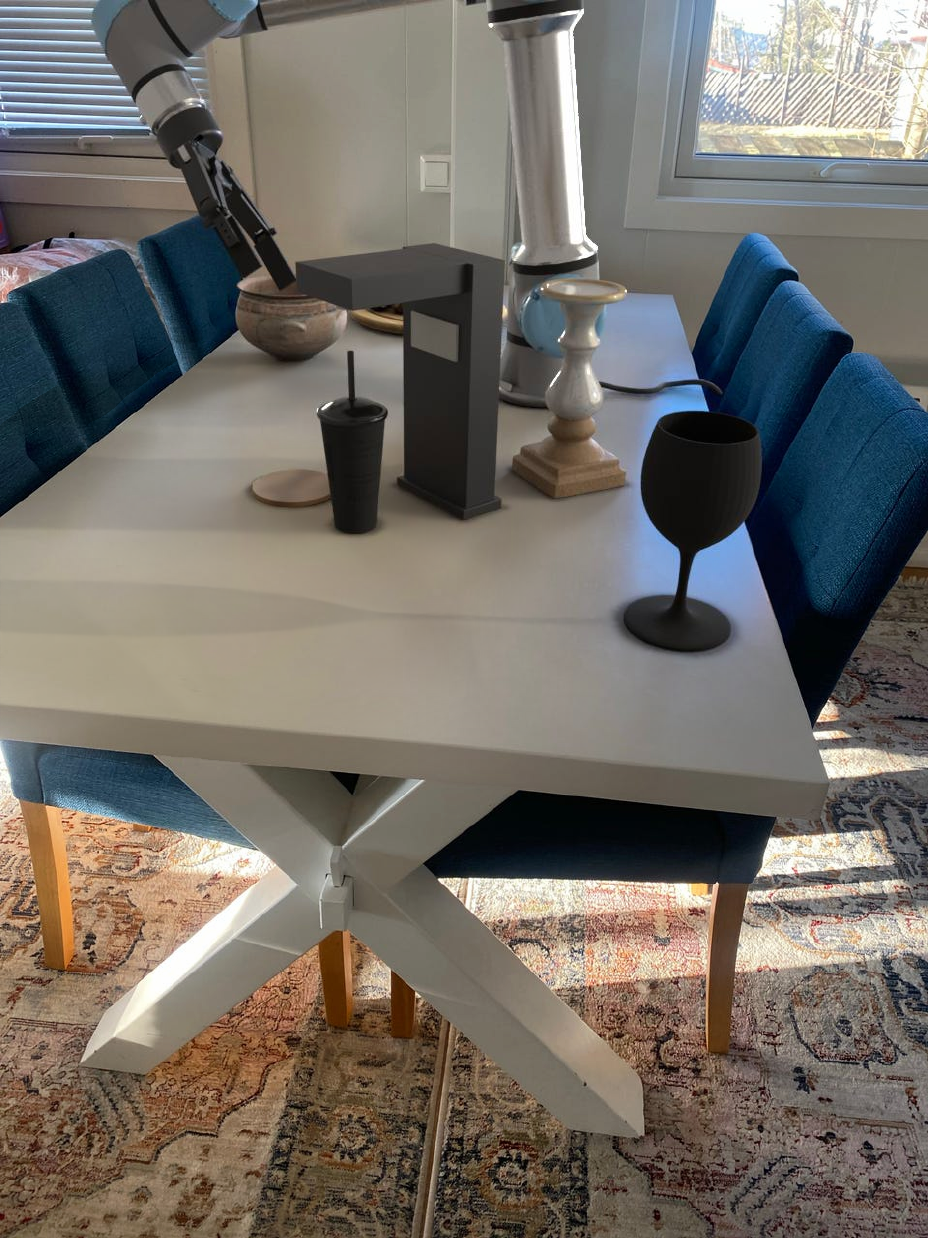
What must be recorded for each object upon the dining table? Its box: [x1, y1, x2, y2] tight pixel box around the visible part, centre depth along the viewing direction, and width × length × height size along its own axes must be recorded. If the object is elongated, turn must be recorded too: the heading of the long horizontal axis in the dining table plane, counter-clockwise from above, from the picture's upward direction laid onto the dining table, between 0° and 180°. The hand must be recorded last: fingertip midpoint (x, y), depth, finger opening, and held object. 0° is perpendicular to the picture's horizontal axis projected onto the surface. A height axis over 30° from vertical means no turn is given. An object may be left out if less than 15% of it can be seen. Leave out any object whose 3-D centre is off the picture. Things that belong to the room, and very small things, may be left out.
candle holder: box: [511, 278, 628, 499], centre depth 120 cm, size 11×11×24 cm
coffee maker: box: [294, 242, 506, 521], centre depth 109 cm, size 20×13×28 cm, turn 130°
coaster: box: [251, 468, 331, 508], centre depth 120 cm, size 10×10×1 cm
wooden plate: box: [349, 303, 508, 335], centre depth 195 cm, size 32×32×8 cm
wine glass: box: [623, 410, 763, 653], centre depth 90 cm, size 10×10×20 cm
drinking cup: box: [316, 350, 389, 535], centre depth 107 cm, size 8×8×20 cm
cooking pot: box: [235, 273, 348, 362], centre depth 168 cm, size 25×19×12 cm
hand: (271, 279), depth 122 cm, fingers open, 13 cm apart
